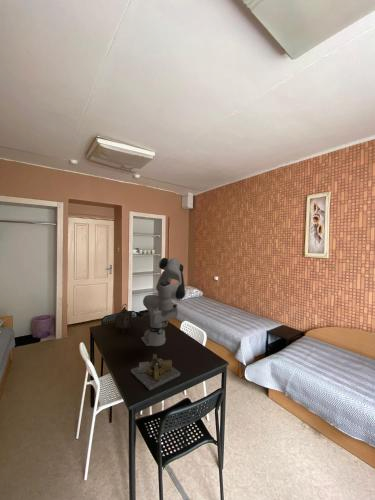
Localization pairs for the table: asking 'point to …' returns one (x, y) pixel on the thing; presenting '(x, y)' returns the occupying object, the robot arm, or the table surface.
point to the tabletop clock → (124, 319)
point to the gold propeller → (155, 367)
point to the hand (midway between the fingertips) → (164, 326)
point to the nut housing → (149, 379)
